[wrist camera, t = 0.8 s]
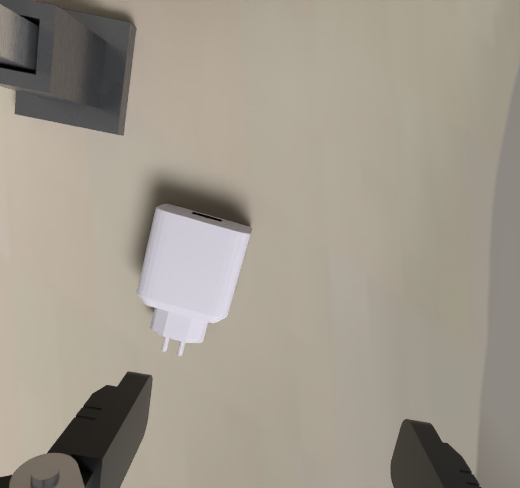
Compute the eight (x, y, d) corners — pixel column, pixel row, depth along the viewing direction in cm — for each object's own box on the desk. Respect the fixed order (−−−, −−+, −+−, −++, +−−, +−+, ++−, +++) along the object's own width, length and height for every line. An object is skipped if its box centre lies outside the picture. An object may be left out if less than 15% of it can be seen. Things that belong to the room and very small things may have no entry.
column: (53, 46, 36) (-138, -55, 19) (86, 53, 36) (-75, -42, 19) (50, 82, 36) (-138, 14, 20) (83, 89, 36) (-76, 27, 20)
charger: (137, 331, 44) (166, 202, 41) (216, 353, 44) (252, 226, 41) (120, 351, 39) (153, 207, 36) (210, 376, 39) (250, 234, 36)
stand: (31, 6, 37) (-55, -50, 27) (136, 28, 37) (87, -21, 27) (24, 115, 39) (-59, 99, 29) (123, 135, 39) (73, 126, 29)
